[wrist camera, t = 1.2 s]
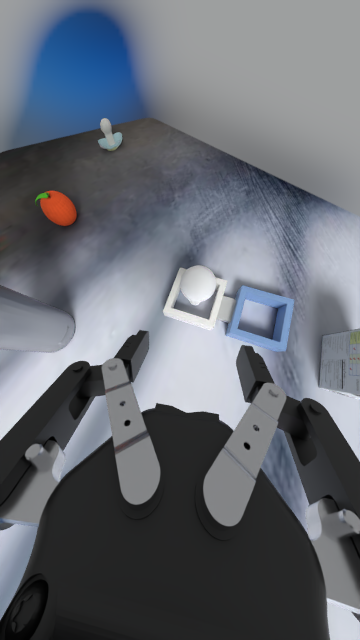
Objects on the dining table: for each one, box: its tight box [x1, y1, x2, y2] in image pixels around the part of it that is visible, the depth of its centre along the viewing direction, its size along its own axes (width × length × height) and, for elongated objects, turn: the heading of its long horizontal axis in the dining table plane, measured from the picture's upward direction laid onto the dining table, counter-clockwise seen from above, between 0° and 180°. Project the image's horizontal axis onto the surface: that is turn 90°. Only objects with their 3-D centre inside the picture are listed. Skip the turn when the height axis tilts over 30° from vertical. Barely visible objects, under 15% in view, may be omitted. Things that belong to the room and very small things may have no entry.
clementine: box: [35, 191, 77, 226], centre depth 38 cm, size 8×7×7 cm
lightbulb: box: [180, 265, 216, 305], centre depth 29 cm, size 6×6×11 cm
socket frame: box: [163, 268, 294, 352], centre depth 32 cm, size 24×10×3 cm, turn 71°
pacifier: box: [98, 118, 122, 151], centre depth 45 cm, size 7×6×6 cm
